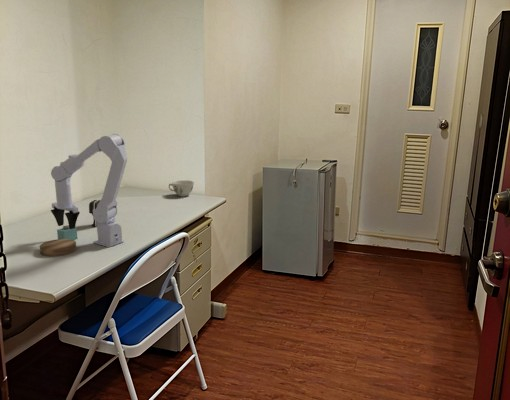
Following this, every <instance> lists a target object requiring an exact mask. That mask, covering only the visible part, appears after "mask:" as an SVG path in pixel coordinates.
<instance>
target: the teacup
mask: <svg viewBox="0 0 510 400" xmlns="http://www.w3.org/2000/svg"><path fill="white" fill-rule="evenodd" d="M194 184H195V182H194V181H192V180H176V181H172V182H171V183H169V184H168V188H169V190H170V191H171V192H174V193H175V194H176V195H177V196H178V197H182V198H183V197H188V196H189V195H190V194H191V193H192V192H193V189H194ZM171 186H172V188H171Z"/></svg>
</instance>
